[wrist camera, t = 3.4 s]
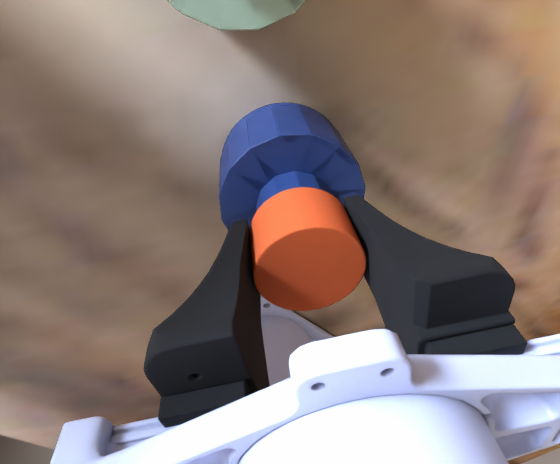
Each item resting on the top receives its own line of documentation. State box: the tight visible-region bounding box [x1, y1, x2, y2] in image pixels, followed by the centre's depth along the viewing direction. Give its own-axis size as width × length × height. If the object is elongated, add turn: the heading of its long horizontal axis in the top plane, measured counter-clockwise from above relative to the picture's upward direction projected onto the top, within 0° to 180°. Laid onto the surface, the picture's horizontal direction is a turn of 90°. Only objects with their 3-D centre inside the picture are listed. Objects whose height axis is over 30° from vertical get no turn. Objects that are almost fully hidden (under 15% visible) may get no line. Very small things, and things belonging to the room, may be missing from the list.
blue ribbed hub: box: [219, 103, 365, 230], centre depth 18 cm, size 7×7×6 cm
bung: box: [250, 187, 366, 311], centre depth 15 cm, size 4×4×4 cm
